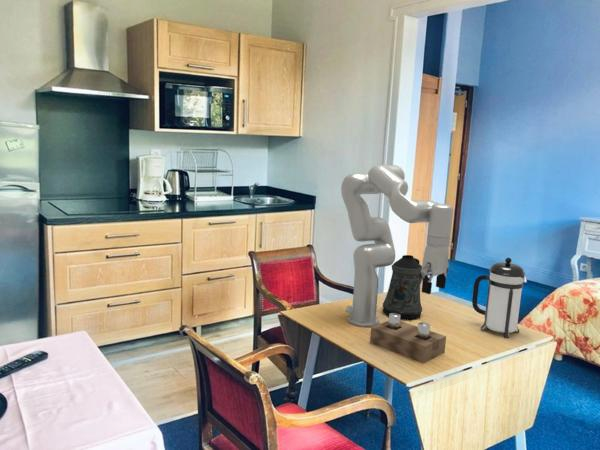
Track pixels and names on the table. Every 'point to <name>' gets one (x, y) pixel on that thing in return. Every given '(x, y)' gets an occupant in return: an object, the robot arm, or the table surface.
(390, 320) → the peg
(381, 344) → the walnut block
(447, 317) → the table surface
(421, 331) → the peg
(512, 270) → the coffee press
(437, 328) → the table surface
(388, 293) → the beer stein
